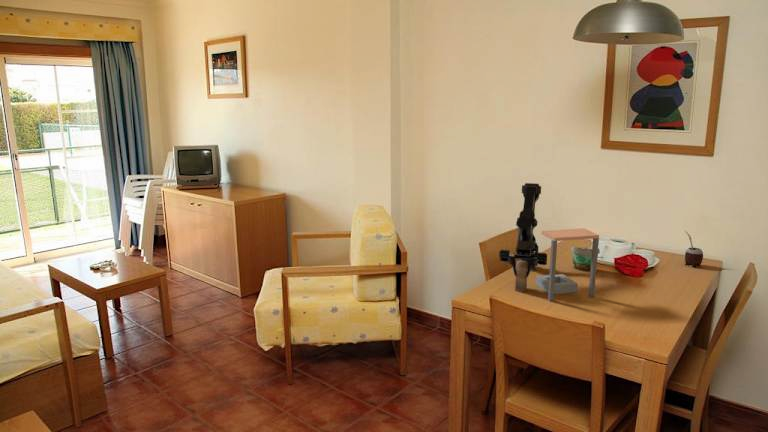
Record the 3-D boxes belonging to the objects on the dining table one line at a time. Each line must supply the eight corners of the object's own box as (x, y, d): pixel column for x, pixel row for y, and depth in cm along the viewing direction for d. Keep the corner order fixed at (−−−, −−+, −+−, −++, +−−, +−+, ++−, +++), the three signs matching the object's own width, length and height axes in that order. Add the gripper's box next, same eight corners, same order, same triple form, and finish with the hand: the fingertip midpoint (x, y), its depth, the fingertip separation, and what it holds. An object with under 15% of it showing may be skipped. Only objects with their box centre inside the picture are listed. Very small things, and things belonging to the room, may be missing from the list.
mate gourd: (702, 269, 236) (706, 236, 233) (682, 266, 240) (686, 234, 236) (700, 264, 243) (704, 232, 240) (681, 262, 246) (685, 231, 243)
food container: (567, 269, 238) (569, 248, 236) (569, 265, 243) (571, 244, 241) (597, 273, 232) (598, 251, 230) (598, 269, 238) (600, 248, 235)
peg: (513, 288, 216) (514, 260, 213) (524, 288, 216) (525, 260, 213) (517, 292, 212) (518, 263, 209) (527, 292, 212) (529, 263, 209)
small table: (528, 284, 220) (531, 225, 214) (569, 281, 223) (573, 223, 218) (550, 301, 202) (554, 238, 196) (594, 297, 205) (599, 235, 199)
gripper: (500, 230, 215) (496, 264, 208) (548, 233, 209) (545, 268, 202) (502, 243, 224) (497, 277, 217) (548, 247, 218) (545, 281, 211)
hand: (521, 275), depth 211 cm, fingers closed on peg, 4 cm apart
